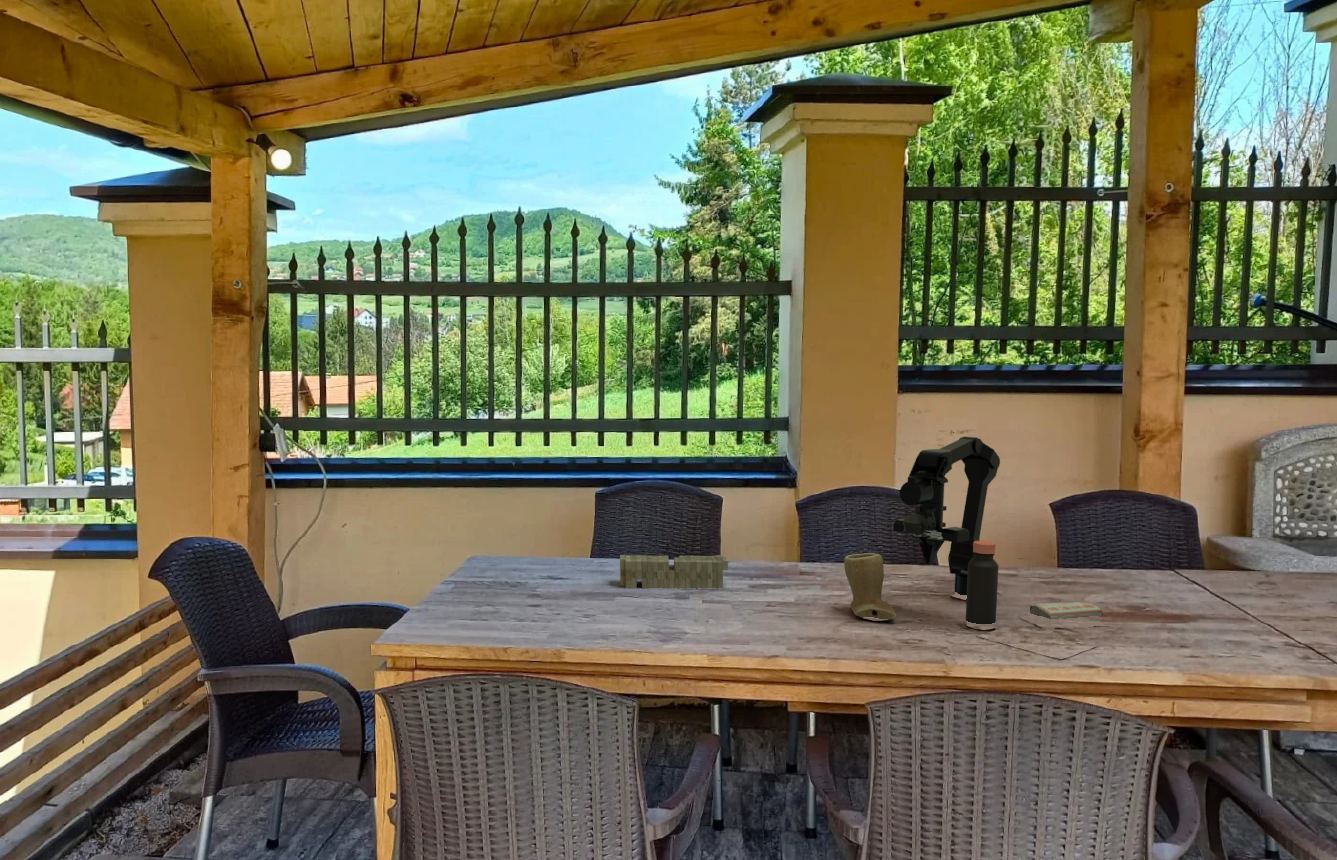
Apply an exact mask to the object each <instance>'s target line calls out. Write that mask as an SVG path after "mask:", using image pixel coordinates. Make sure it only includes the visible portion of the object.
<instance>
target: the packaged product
mask: <svg viewBox="0 0 1337 860" xmlns="http://www.w3.org/2000/svg"><path fill="white" fill-rule="evenodd" d="M1029 613H1031V614H1034V615H1037V616H1043V617H1046V618H1049V619H1059V618H1063V619H1066V618H1078V617H1089V616H1103V615H1104V611H1103V609H1102V608H1101V606H1100V605H1096V604H1094V603H1091V602H1088V601H1074V602H1073V601H1072V602H1071V601H1068V602H1046V603H1044V602H1043V603H1035V604H1034V603H1032V604H1031V605H1029Z"/></svg>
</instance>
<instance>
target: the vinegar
mask: <svg viewBox="0 0 1337 860" xmlns="http://www.w3.org/2000/svg"><path fill="white" fill-rule="evenodd" d="M996 545H997V544H996V543H995V542H992V541H987V540H986V541H985V540H980V541H975V542H973V553H974V558H973V559H971V560H970V561H969V563H968V578H967V599H966V601H965V603H966V605H965V606H966V607H965V620H966V621H968V622H971V623H976V624H992V623H995V622H996V621H997V608H998V607H997V605H998V604H997V601H998V587H999V586H998V584H999V581H998V580H999V567H1000V566H999V564H998V563H997V561H996V560H995V559H994V556H995V554H996ZM996 623H997V622H996Z"/></svg>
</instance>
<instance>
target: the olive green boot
mask: <svg viewBox="0 0 1337 860" xmlns="http://www.w3.org/2000/svg"><path fill="white" fill-rule="evenodd" d="M843 564H844V571H845V575H846V579H847V581H848V584H849V587H850V590H851V593H852V600H851V602H850V608H851V610H852V611H853V614H855V616H858V617H859V616H860V617H859V618H861V617H874V618H879V619H890V620H893V619H896V617H897V614H896V612H895V610H894V608H893V607H892V605H891V604H890V603H889V602H887V601H885V600H883V599H882V590H883V584H884V583H883V582H884V577H885V570H884V560H883V557H882V555H881V554H879V553H874V552H867V553H866V552H865V553H854V554H850V555H846V556H845V557H844V559H843Z"/></svg>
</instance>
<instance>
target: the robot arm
mask: <svg viewBox="0 0 1337 860" xmlns="http://www.w3.org/2000/svg"><path fill="white" fill-rule="evenodd" d="M1000 459H1001V458H1000V456H999V455H998V454H997V452H996V451H995V449H993V448H992V447H990V446H989V445H987V444H985V442H983V441H982V440H981V438H979V437H976V436H975V437H974V436H961V437H960V438H959V439H958V440H955V441H952V442H951V443H949V444H947V445H944V446H943V447H941V448H938V449H937V448H933V449H932V448H931V449H930V448H929V449H923V450H921V451H920V452H919V453H918V454H917V456H916V458H915V460H914V463H913V465H912V468H911V470H910V472H909V475H908V477H907V481H906V482H905V483H903V484H902V485H901V488H900V489H899V497H900V499H901V501H902V502H903V504H905V505H907V506H915V507H914V509H915V510H914V512H913V513H912V514H910V515H908V516H907V517H904V518H896V519H895V520H894V522H892V531H893V532H897V533H903V532H904V533H905V534H906V535H907V534H912V535H910V536H911V538H913V539H914V540H916V541H917V542H918V544H919V547H920V549H921V552H922V555H923V558H924V562H925V565H928V566H930V565H932V563H933V562H934V560H935V558H936V556H937V554H938V553H939V551H940V548H941V547H942V546H943V544H944V543H945V542H951V543H950V549H949V553H948V555H947V556H948V557H947V558H948V567H949V574H952V575H954V592H957V593H958V594H960V595H967V578H968V563H969V561H970V560H971V559H973V558H974V553H973V542H975V541H981V540H980V538H981V537H980V536H981V530H982V524H983V518H984V511H985V508H986V507H985V506H986V500H987V492H988V488H989V485H990V483H991V482H992V481H993V480H994V479H995V478H996V476H997V474H998V470H999V467H1000V464H1001V460H1000ZM959 461H961V462H962V463H963V464H964V468H963V471H964V473H965V477H966V479H967V481H968V485H967V491H966V497H965V502H964V510H963V516H962V522H961V527H959V526H958V527H957V526H951V527H947V526H946V525H947V522H944V511H947V506H946V505H944V501H945V484H946V483H948V482H949V479H948V478H947V477H946V475H947V474H948V473H949V472H951V471H952V470H953V464H955V463H957V462H959ZM954 592H953V593H954Z"/></svg>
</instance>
